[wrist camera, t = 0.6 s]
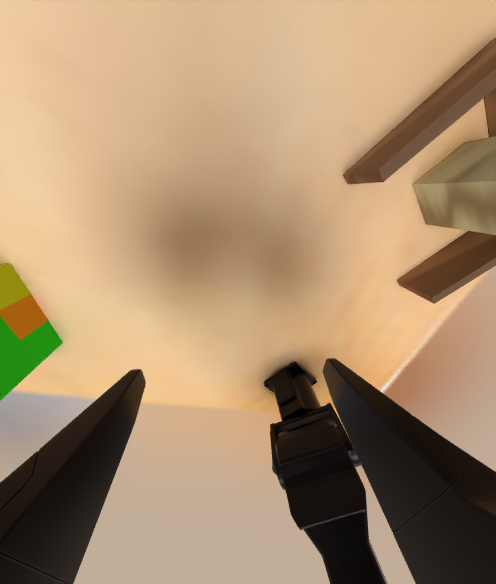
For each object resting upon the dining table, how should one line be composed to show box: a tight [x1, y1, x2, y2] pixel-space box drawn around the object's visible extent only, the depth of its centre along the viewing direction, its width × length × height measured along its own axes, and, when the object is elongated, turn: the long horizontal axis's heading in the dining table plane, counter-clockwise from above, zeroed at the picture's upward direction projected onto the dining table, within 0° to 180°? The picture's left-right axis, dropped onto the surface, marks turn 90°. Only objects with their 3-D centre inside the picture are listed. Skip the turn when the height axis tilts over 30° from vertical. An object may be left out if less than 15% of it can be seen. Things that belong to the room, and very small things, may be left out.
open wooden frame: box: [343, 38, 496, 304], centre depth 17 cm, size 16×13×4 cm
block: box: [412, 136, 496, 235], centre depth 16 cm, size 5×5×7 cm
